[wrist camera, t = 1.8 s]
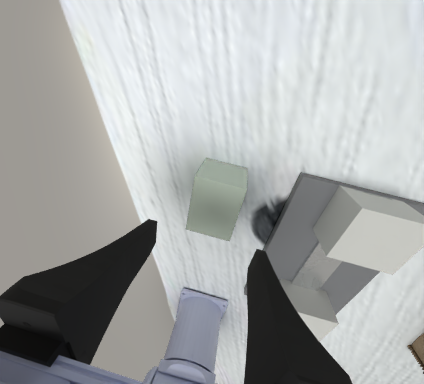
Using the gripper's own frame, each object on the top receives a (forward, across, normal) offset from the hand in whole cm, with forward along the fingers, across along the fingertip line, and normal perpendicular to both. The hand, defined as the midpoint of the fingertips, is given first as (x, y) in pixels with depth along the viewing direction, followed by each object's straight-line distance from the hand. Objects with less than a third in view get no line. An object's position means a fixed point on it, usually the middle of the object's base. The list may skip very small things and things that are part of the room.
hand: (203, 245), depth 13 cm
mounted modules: (+9, -14, +6) cm, 18 cm away
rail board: (+9, -14, +6) cm, 18 cm away
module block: (+9, 0, 0) cm, 9 cm away
